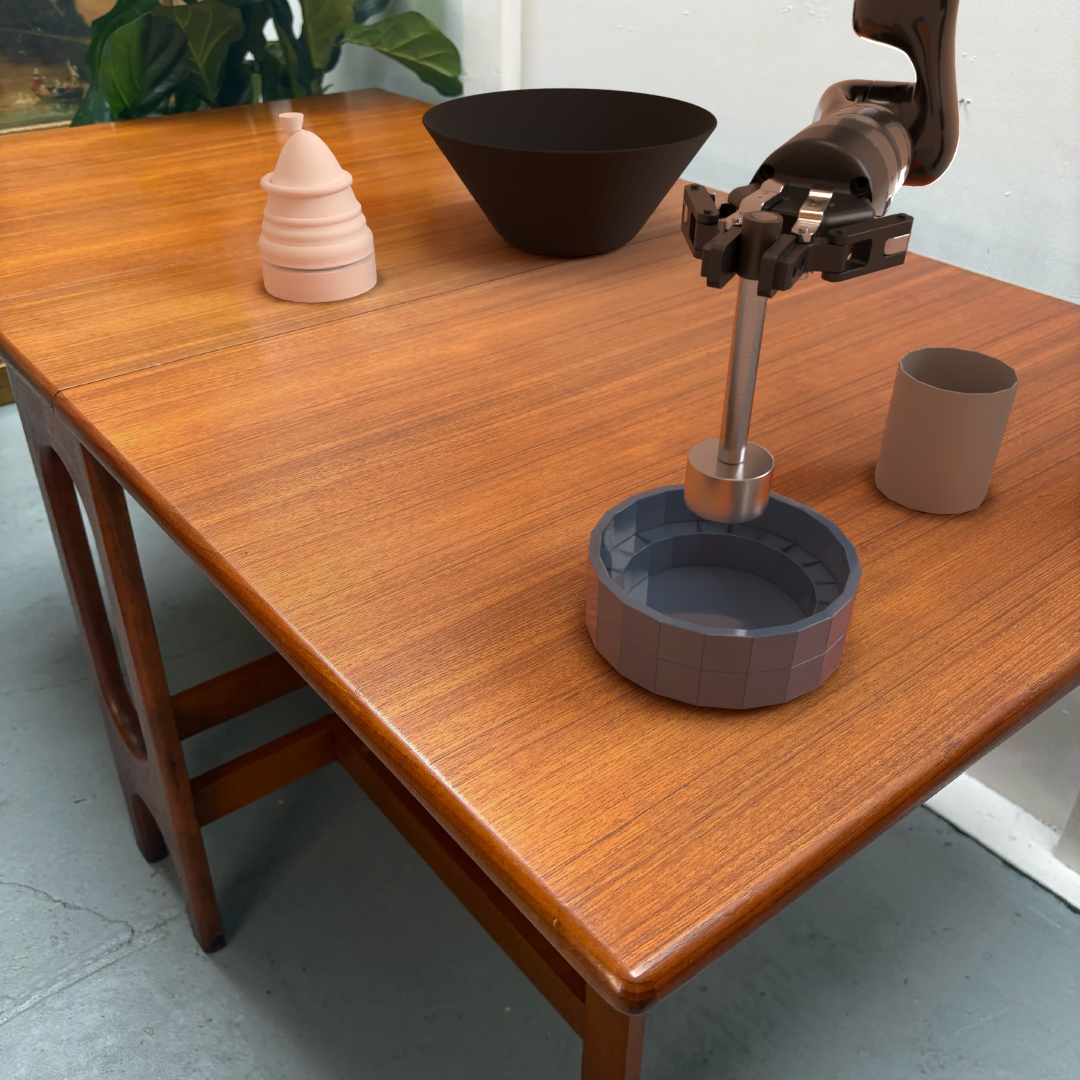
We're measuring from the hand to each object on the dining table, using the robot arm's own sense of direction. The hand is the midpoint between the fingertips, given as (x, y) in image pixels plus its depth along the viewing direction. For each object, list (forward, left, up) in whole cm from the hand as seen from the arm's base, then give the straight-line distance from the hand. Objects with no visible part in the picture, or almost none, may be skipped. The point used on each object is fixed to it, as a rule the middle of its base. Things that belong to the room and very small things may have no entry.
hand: (740, 273), depth 50 cm
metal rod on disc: (-1, -3, -15) cm, 15 cm away
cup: (-19, -22, -24) cm, 38 cm away
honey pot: (+42, -61, -24) cm, 78 cm away
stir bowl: (-1, -2, -24) cm, 24 cm away
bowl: (+15, -80, -24) cm, 85 cm away
